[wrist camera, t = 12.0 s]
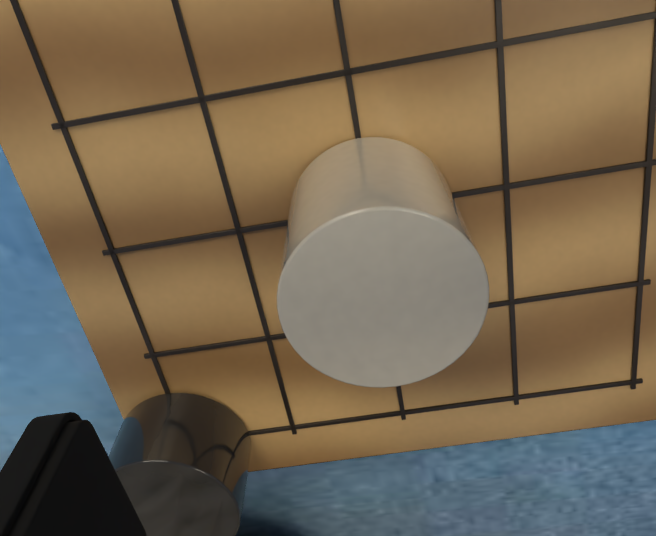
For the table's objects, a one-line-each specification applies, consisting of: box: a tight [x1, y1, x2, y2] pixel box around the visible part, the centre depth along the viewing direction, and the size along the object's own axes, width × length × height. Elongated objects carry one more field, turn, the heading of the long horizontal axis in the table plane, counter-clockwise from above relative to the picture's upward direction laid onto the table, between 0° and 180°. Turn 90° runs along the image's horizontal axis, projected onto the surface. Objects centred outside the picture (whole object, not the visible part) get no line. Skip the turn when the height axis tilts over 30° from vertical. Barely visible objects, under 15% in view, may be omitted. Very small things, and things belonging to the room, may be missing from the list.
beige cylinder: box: [277, 137, 489, 388], centre depth 16 cm, size 5×5×5 cm
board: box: [0, 0, 656, 472], centre depth 19 cm, size 20×20×2 cm
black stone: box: [108, 393, 252, 536], centre depth 21 cm, size 5×5×3 cm
